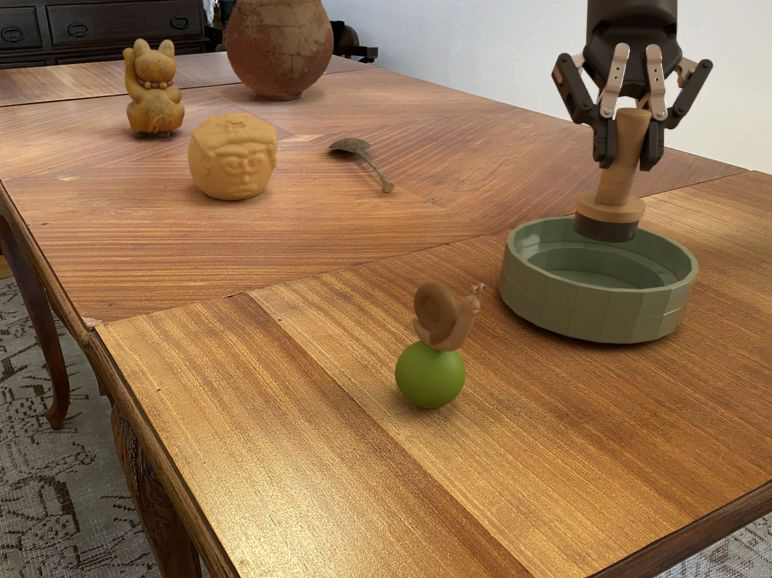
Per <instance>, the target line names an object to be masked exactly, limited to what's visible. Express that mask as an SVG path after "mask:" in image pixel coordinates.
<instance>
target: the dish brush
mask: <svg viewBox="0 0 772 578" xmlns="http://www.w3.org/2000/svg"><path fill="white" fill-rule="evenodd" d="M651 114H652V113H651V112H650V111H647V110H644V109H639V108H636V107H619V108H617V109H616V110H615V116H614V120H616V150H615V159H614V161H613V163H612V164H611V166H610V167H609V169H601V173H600V177H599V180H598V181H599V182H598V185H597V189H596V188H595V189H588V190H587V189H586V190H584V191H580V192H579V193H578V194H577V195H576V198H575V203H574V208H575V214H574V216H573V217H574V221H573V226H572V227H573V230H574V231H575V232H576V233H578V234H579V235H581V236H583V237H586V238H589V239H592V240H596V241H601V242H609V243H621V242H627V241H630V240H632V239H633V238H634V237H635V235H636V231H637V228H638V226H639V224H640V221H641V220H642V219H643V218H644V216H645V212H646V209H647V204H646V202H645V201H644V200H642V199H641V198H640V197H638V196H635V195H633V194H631V191H632V188H633V184H634V180H635V176H636V173H637V169H638V167H639V166H638V165H639V163H640V155H641V151H642V148H643V144H644V140H645V137H646V133H647V129H648V125H649V122H650V118H651Z"/></svg>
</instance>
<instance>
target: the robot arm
mask: <svg viewBox="0 0 772 578" xmlns="http://www.w3.org/2000/svg"><path fill="white" fill-rule="evenodd" d="M586 2H587V3H586V26H585V27H586V29H585V45H584V46H583V49H582V52H580V53H576V54H573V55H571V54H570V53H569V52H568V53H567V52H561V53H560V54H558V56H557V58H556V61H555V63H554V66H553V68H552V71H551V74H550V77H551V79H552V81H553V83H554V85H555V88H556V90H557V92H558V94H559V96H560V98H561V100H562V103H563V104H564V106H565V109H566V111H567V113H568V115H569V117H570V119H571V121H572V122H573V124H575V125H579V126H580V125H582V124H584V125H587V126H589V127H590V128H591V130H592V159H593V161H594V162H595V163H598V168H599V169H600V170H602V169H609V167H610V166H611V164H612V163H613V161H614V159H615V150H616V120H615V119H614V118H613V117H614V115H615V114H616V107H617V103H618V98H624V97H627V98H631V99H634V103H635V108H639V109H644V110H647V111H650V112H651V113H652V114H651V118H650V122H649V125H648V129H647V133H646V137H645V140H644V144H643V148H642V151H641V155H640V159H639V166H638V167H639V172H650V171H651V170H652V168H653V167H654V166H656V165H657V164H658V163H659V162H660V160H661V159H662V158H663V156H664V154H665V129H666V130H671V131H672V130H675V129H676V128H677V127H678V126H679V124H680V123H681V121H682V120H683V119H684V118H685V117H686V116H687V114H689V111H690V110H691V108H692V106H693V105H694V102H695V101H696V99H697V97H698V96H699V93H700V92H701V90H702V89H703V86H704V85H705V83H706V81H707V80H708V77H709V75H710V73H711V72H712V70H713V68H714V63H713V61H712V60H711V59H709V58H703V59H701V60H700V61H698V62H697V61H694V60H692V59H689V58H686V57H685V56H683V55H684V54H683V50H682V48H681V46H680V45H679V43H678V39H677V36H678V9H679V8H678V7H679V6H678V2H679V1H678V0H586ZM583 70H584V72H585V73H586V75H587V76H588V77H589V78H590V80H591V81H592V82H593V83H594V84H595V87H597V89H598V90H597V91H598V92H597V96H596V102H595V103H594V100H593V98H592V96H591V95H590V93H589V91H588V88H587V86H586V84H585V82H584V80H583V78H582V76H581V75H582V73H583ZM673 72H675V73H676V74H677V78H676V79H677V80H676V83H677V87H678V89H680V90H679V93H678V95H677V96H676V98H675V100H674V102H673V104H672V105H671V106H669V107H667V103H666V98H665V97H666V91H667V88H666V80H667V79H668V78H669V77H670V76H671V75H672V74H673Z"/></svg>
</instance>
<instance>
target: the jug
mask: <svg viewBox="0 0 772 578" xmlns="http://www.w3.org/2000/svg"><path fill="white" fill-rule="evenodd" d="M235 2H236V3H235V4H234V7H233V9H232V11H231V13H230V16H229V19H228V21H227V25H226V31H225V41H224V42H225V50H226V56H227V60H228V61H229V64H230V67H231V68H232V71H233V73H234V74H235V76H236V77H237V78H238V79H239V80H240V82H241V83H242V84H243V85H245V86H246V87H248V88H249V89H250V90H251V91H254V92H255V96H256V97H257V98H258V99H260V100H263V101H272V102H273V101H276V102H277V101H278V102H285V101H286V102H287V101H293V100H298V99H300V98H301V97H302V96H303V92H304V91H306V90H307V89H309V88H310V87H312V86H313V85H314V84H316V83H317V82H318V80H319V79H321V77H322V76H323V75H324V73H325V72H326V70H327V68H328V66H329V65H330V62H331V59H332V58H333V57H332V56H333V52H334V46H335V42H334V33H333V28H332V24H331V21H330V18H329V15H328V13H327V11H326V9H325V7H324V5H323V3H322V0H236V1H235Z"/></svg>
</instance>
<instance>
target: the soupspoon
mask: <svg viewBox="0 0 772 578" xmlns="http://www.w3.org/2000/svg"><path fill="white" fill-rule="evenodd" d="M370 148H372V144H371V143H370V142H368V141H366V140H364V139H362V138H357V137H345V138H341V139H338V140H335V141H334V142H333V143H331V144H330V145H329V146H328V149H330V150H331V149H337V150H342V151H346V152H349V153H352V154H356V155H357V156H358V157H360V158H361V159H363V160H364V162H365V163H367V164H368V165H369V166H370V168H372V170H373V171H374V172H375V173H376V174H377V175H378V176H379V180H380V181H381V184H382V187H381V190H382V192H384V193H387V194H388V193H392V192H393V190H394V189H395V188H396V185H395V183H394V182H392V181H390V180H389V179H388V177H387V175H386V174H384V173H383V172H382V170H381V169H380V168H379V166H377V165H376V163H374V161H372V160H371V158H370V157H369V156H368V155H366V154H365V152H367V151H368V150H370Z"/></svg>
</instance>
